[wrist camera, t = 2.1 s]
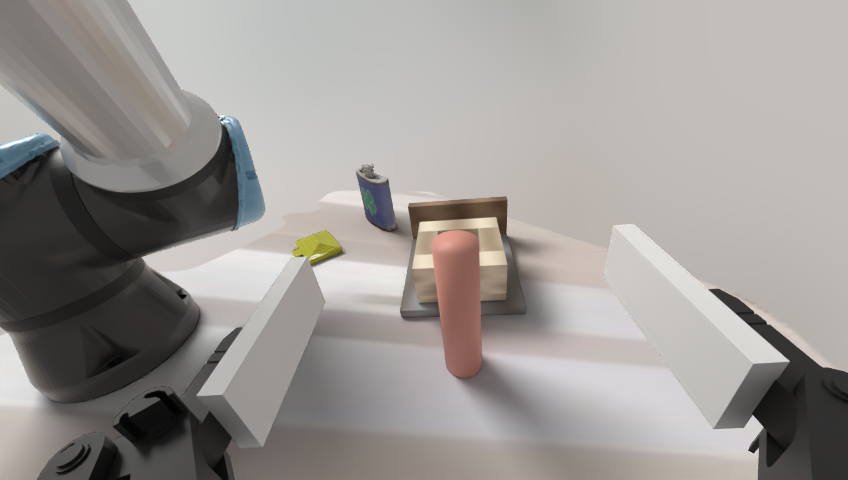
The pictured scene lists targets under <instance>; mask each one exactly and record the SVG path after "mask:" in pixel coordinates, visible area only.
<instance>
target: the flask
mask: <svg viewBox="0 0 848 480" xmlns="http://www.w3.org/2000/svg"><path fill="white" fill-rule="evenodd" d="M363 166H364V165H362V166H361V168H360V169H357V171H356V174H357V178H358V182H359V186H360V191H361V195H362V200H363V204H364V209H365V215H366V218H367V219H368V221H369V222H370V223H372V224H374V225H375V226H377V227H378V228H380V229H382V230H385V231H388V232H389V231H393V230H392V229H396V227H397V223H396V219H395V214H394V210H393V204H392V199H391V193H390V188H389V181H388V179H387V178H386V177H382V176H380V175H377V174H375V173H374V170H373V169H372V168H373V167H374V166H373V164H371V166H369V165H368V164H365V166H364V167H363ZM391 228H392V229H391Z"/></svg>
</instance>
